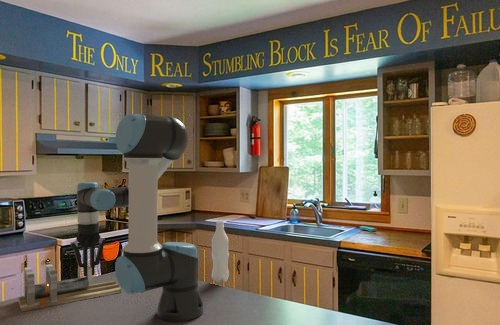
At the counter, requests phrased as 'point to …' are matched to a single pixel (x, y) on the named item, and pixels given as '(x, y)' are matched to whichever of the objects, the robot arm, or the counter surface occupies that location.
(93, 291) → the rail
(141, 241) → the robot arm
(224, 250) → the water bottle
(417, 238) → the counter surface
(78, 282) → the tube
